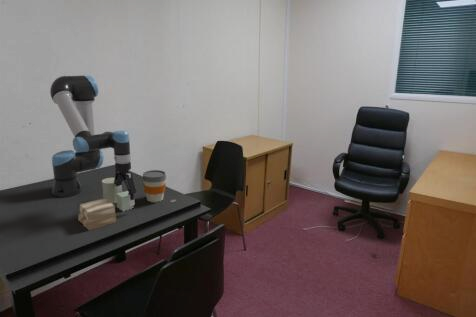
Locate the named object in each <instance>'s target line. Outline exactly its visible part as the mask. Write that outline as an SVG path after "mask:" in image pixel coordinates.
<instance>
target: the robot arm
mask: <svg viewBox="0 0 476 317" xmlns="http://www.w3.org/2000/svg"><path fill="white" fill-rule="evenodd" d="M49 92H50V97H51V99H52V102H53V103H54V104H55V105H57V106H58V108H59V110H60V112H61V114H62V116H63V118H64V120H65V122H66V123H67V125H68V127H69V129H70V132H71V134H72V135H73V137H74V138H73V139H72V146H73V149H74V150H72V149H71V150H70V149H68V150H62V151H59V152H56V153H54V154H53V155H52V156H51V161H52V162H51V164H52V173H53V178H54V180H53V181H54V182H53V185H52V190H51V192H52V195H53V196H54V197H56V198H57V197H58V198H59V197H60V198H64V197H65V198H67V197H72V196H76V195H79V194H80V193H82V191H83V190H82V184H81V183H80V180H79V178H78V174H79V173H81V172H82V173H83V172H88V171H92V170H96V169H100V168H101V167H102V165H103V163H104V154H103V151H102V150H103V149H104V150H105V149H111V148H112V149H113V154H114V156H113V159H114V167H115V174H114V178H115V179H114V184H116V189H117V193H121V192H123V183H124V184H125V186H126V189H127V191H128V192H129V193H128V199H129V206H132V205H133V206H135V205H136V204H135V203H136V202H135V194H136V193H137V190H136V186H135V182H134V178H133V174H132V173H129V171H130V170H131V169H132V163H131V149H130V148H131V146H130V136H129V132H128V131H126V130H115V131H104V132H102V133H100V134H99V133H98V134H95V122H94V111H93V109H94V108H93V104H94V102H95V101H96V100H95V98H96V97H97V96H99V87H98V84H97V81H96V80H95V78H94V77H92V76H91V75H61V76H59V77H57V78H56V79H54V81H53V82H52V84H51V86H50V90H49Z"/></svg>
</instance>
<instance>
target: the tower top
mask: <svg viewBox="0 0 476 317" xmlns="http://www.w3.org/2000/svg"><path fill="white" fill-rule="evenodd" d="M78 207H79V212H80V213H81V214H82V215H83V216H84V217H85V218H86V219H87V220H88V221H89V222H90V221H94V220H97V219H101V218H105V217H108V216H112V215H116V206H115V204H114V203H110V202H109V201H108V200H107V199H105V198H103V197H101V198H97V199H94V200H90V201H86V202H81V203H79V206H78Z"/></svg>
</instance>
